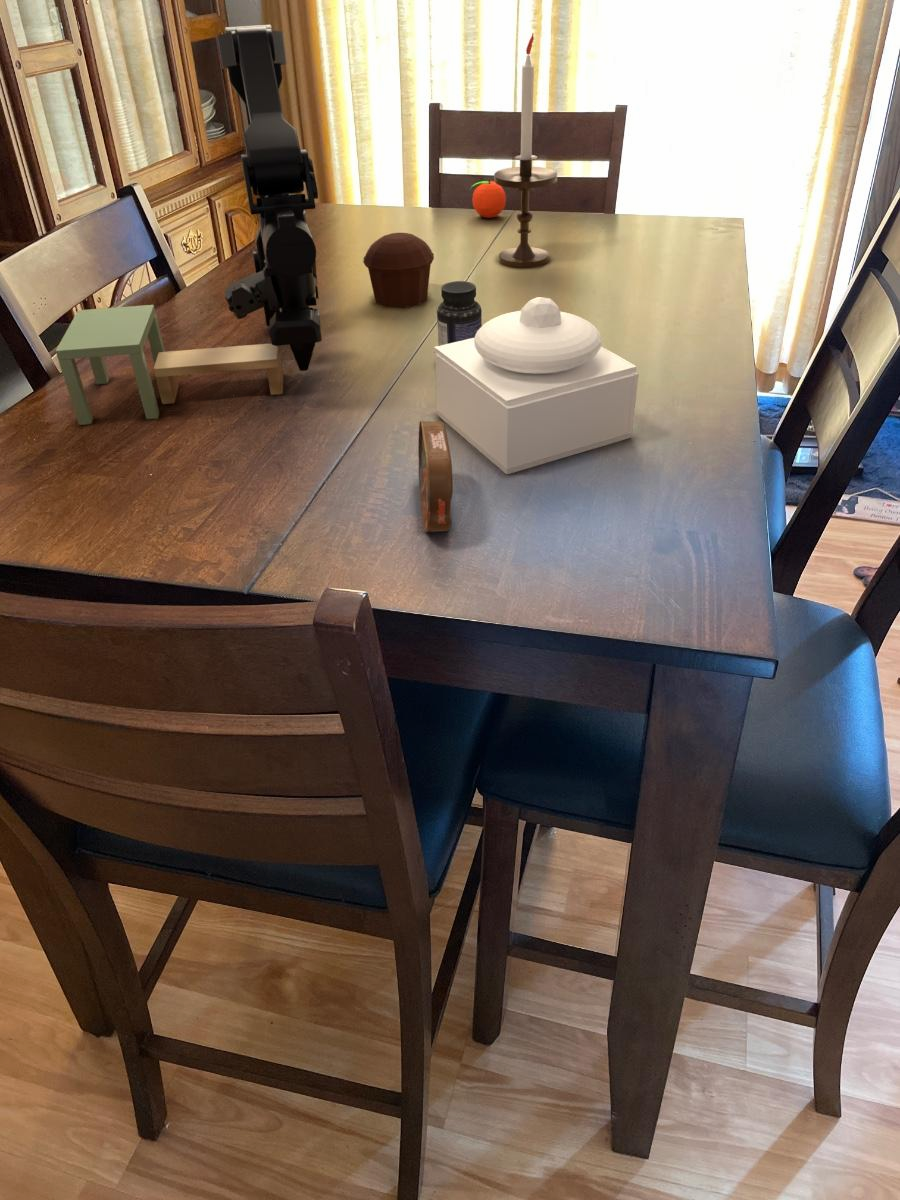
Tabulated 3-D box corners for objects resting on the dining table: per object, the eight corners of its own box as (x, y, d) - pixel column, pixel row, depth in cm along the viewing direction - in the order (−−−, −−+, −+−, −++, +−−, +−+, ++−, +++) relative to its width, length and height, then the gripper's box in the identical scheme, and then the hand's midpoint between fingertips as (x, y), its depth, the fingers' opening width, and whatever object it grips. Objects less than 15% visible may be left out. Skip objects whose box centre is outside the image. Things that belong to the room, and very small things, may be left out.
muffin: (394, 316, 140) (390, 251, 134) (352, 299, 147) (346, 237, 140) (449, 297, 146) (448, 234, 140) (407, 282, 153) (404, 221, 147)
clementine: (465, 221, 181) (464, 184, 176) (470, 212, 186) (469, 176, 182) (503, 222, 180) (504, 184, 175) (507, 212, 185) (508, 176, 181)
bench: (283, 377, 123) (277, 342, 120) (282, 394, 119) (277, 358, 116) (167, 386, 122) (158, 352, 119) (162, 404, 117) (153, 368, 114)
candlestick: (563, 255, 162) (575, 29, 140) (536, 272, 155) (543, 37, 133) (512, 247, 166) (515, 27, 145) (483, 263, 159) (481, 35, 138)
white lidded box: (506, 474, 100) (508, 339, 90) (435, 413, 113) (430, 289, 103) (632, 437, 106) (646, 307, 96) (551, 383, 119) (556, 263, 109)
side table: (170, 374, 125) (153, 304, 119) (158, 418, 114) (139, 344, 108) (98, 380, 124) (77, 310, 118) (79, 425, 113) (55, 350, 107)
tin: (417, 474, 101) (413, 406, 96) (445, 472, 101) (442, 405, 96) (426, 549, 89) (421, 476, 84) (457, 546, 89) (454, 474, 84)
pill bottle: (487, 358, 126) (487, 281, 119) (474, 375, 122) (473, 296, 115) (447, 354, 128) (444, 277, 121) (432, 370, 123) (429, 292, 116)
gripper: (226, 235, 117) (246, 348, 126) (217, 281, 102) (241, 405, 112) (310, 229, 118) (324, 341, 127) (313, 274, 103) (328, 397, 113)
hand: (303, 369), depth 120 cm, fingers closed
